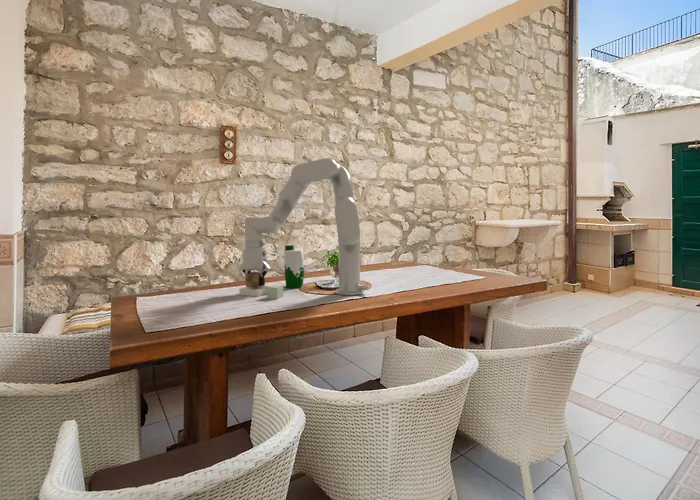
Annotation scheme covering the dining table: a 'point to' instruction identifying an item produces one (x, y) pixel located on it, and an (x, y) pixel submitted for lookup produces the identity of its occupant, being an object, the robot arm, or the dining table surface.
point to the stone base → (253, 291)
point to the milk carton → (294, 267)
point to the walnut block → (253, 279)
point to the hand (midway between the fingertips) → (255, 284)
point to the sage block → (274, 291)
